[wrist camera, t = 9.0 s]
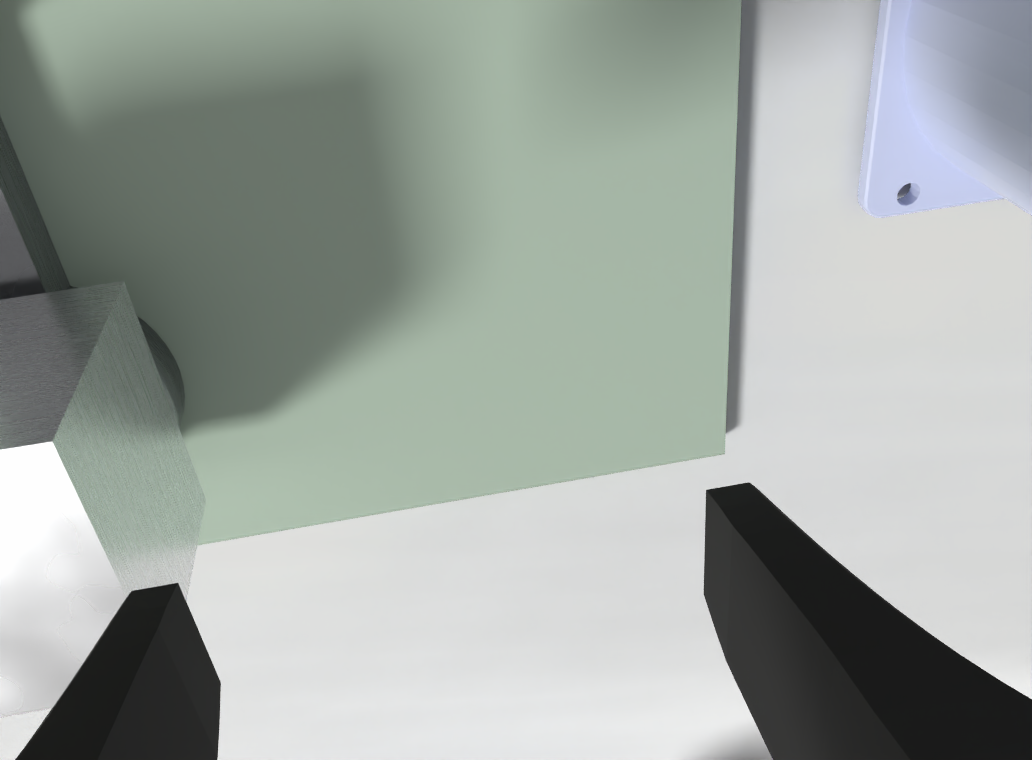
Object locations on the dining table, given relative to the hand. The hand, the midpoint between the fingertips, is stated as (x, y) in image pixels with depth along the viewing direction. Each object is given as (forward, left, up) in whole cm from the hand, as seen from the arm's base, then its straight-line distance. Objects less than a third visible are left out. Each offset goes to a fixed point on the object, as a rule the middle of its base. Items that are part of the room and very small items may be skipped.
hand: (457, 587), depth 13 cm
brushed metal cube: (+8, +1, -7) cm, 11 cm away
